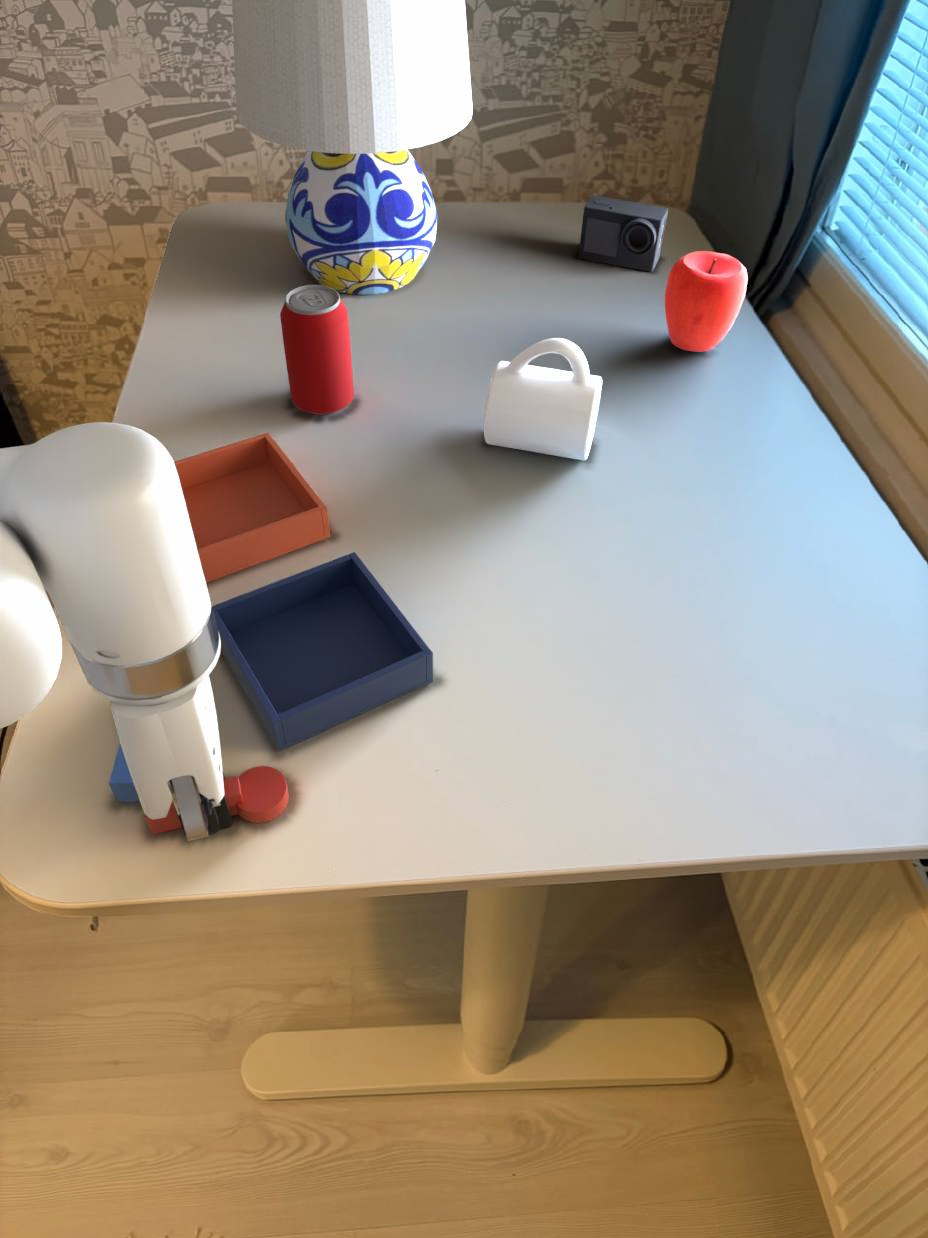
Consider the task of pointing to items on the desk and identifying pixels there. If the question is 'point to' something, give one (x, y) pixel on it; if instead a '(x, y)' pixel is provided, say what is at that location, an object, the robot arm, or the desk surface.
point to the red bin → (248, 505)
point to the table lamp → (355, 123)
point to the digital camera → (622, 232)
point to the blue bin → (320, 649)
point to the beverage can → (317, 349)
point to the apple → (703, 299)
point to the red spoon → (242, 798)
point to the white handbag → (543, 403)
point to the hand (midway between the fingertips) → (207, 811)
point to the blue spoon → (122, 780)
